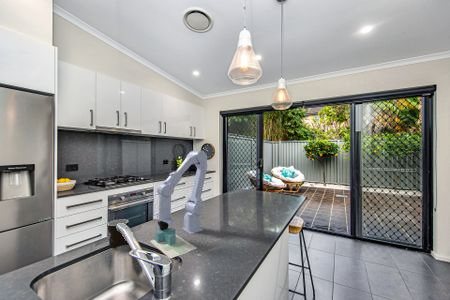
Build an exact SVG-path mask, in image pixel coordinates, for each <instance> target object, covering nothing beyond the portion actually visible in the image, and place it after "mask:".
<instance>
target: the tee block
mask: <svg viewBox="0 0 450 300" xmlns="http://www.w3.org/2000/svg"><path fill="white" fill-rule="evenodd" d="M175 234H176V228H174V227H173V226H172V227H168V229H165V230H157V231H155V233H154V240H155V241H157V242H161V241H165V242H166V243H167V244H168V245H172V244H175V243H176V235H177V234H176V235H175Z"/></svg>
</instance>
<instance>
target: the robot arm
mask: <svg viewBox="0 0 450 300" xmlns="http://www.w3.org/2000/svg"><path fill="white" fill-rule="evenodd" d="M191 165H195V167H196V172H195V177H194V181H193V186H192V189H191V194H190V196H189V197H188V198H187V200H186V202H185V203H184V204H185V205H184V210H185V211H186V212H185V214H184V217H183V227H182V230H184V231H185V232H187V233H189V234H190V235H192V234H196V233H198V232H202V231H204V229H203V228H201V215H202V213H203V210H204V205H203V204H204V201H203V199H202V193H203V188H204V184H205V179H206V175H207V170H208V155H207V153H206V152H205V151H204V150H191V151H190V152H189V153H188V154H187V155H186V157H185V159H184V160H183V162H182V163H181V164H180V165H179V167H178V168H177V170H175V171H172V172H170V173H169V175H168V177H167V178H166V180H164V181H163V183H162V184H160V185H159V186H158V187H157V189H156V192H157V194H158V213H156V218H155V220H156V221H157V224H158V226H159V229H160V230H165V229H168V228H169V227H170V226H174V220H173V219H172V215H171V214H172V195H173V194H174V191H175V188H176V186H177V185H178V184H179V182H181V180H182V178H183V177H182V175H183V174H184V173H185V172H186V171H187V170H188V169H189V168H190V167H191ZM160 230H159V231H160Z"/></svg>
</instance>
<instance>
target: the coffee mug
mask: <svg viewBox="0 0 450 300" xmlns="http://www.w3.org/2000/svg"><path fill="white" fill-rule="evenodd" d="M118 223H124V224H126V225H127V226H128V227H129V220H128V219H124V218H123V219H122V218H121V219H114V220H111V221H109V222H107V233H108V234H107V235H108V245H109V247H110V248H117V247H120V246H122V245H124V244H125V243H126V241H127V239H126V240H125V239H124V237H123V236H122V234H121V233H120V232H118V231H117V229H116V225H117V224H118Z"/></svg>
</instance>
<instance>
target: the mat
mask: <svg viewBox="0 0 450 300" xmlns="http://www.w3.org/2000/svg"><path fill="white" fill-rule="evenodd" d="M175 235H176V243H175V244H172V245H168V244H167V243H166V242H165V241H161V242H157V241H155V239H151V240H149V243H151V244H152V245H153V246H155V247H156V248H157V249H158V250H159V251H160V252H162V253H163V254H164V255H165V256H166V257H167V258H169V259H173V258H175V257H178V256H182V255H186V254H188V253H190V251H194V250H196V249H198V247H196V245H193V244H192V243H190V242H189V241H186V239H184V238H182V237H180V236H179V235H177V234H176V233H175Z"/></svg>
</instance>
